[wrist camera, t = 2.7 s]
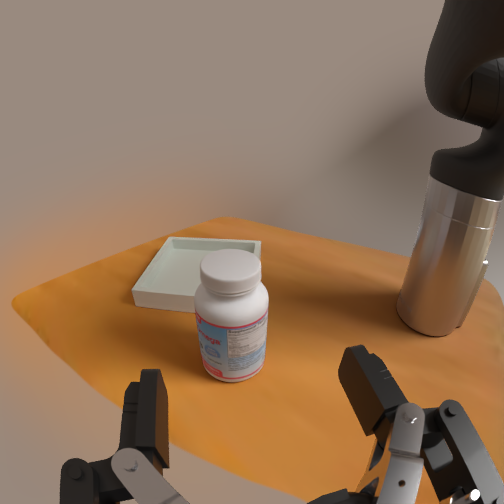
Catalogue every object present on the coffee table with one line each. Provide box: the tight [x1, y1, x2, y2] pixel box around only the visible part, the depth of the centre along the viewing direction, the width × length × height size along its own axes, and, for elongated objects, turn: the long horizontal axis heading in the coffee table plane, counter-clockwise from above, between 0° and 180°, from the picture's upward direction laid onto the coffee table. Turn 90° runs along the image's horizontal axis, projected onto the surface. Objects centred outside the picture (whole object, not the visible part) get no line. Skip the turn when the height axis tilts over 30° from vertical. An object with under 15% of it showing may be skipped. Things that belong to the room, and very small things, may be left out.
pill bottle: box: [194, 249, 269, 382], centre depth 25 cm, size 6×6×11 cm
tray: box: [132, 237, 261, 313], centre depth 40 cm, size 15×15×2 cm
